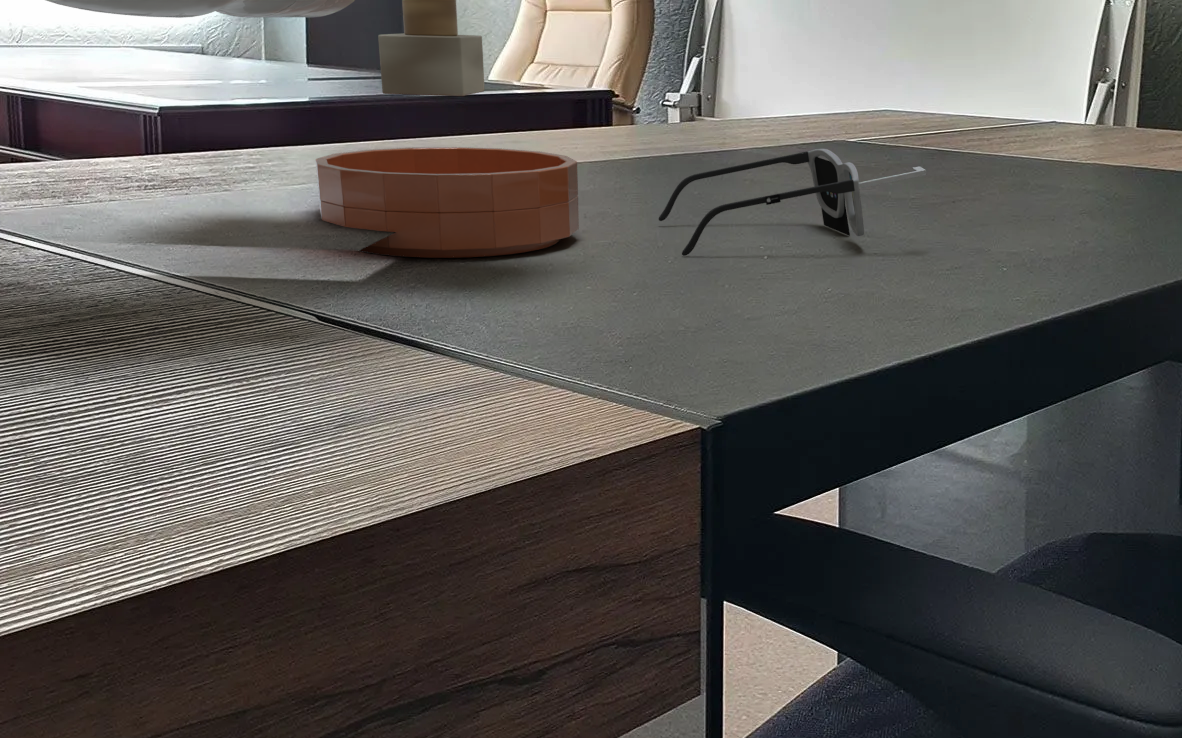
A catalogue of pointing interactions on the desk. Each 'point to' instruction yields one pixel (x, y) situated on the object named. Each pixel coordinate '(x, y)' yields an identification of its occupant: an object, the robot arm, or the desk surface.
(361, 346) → the desk surface
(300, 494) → the desk surface
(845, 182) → the smart glasses
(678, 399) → the desk surface
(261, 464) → the desk surface
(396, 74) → the brush
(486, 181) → the bowl
